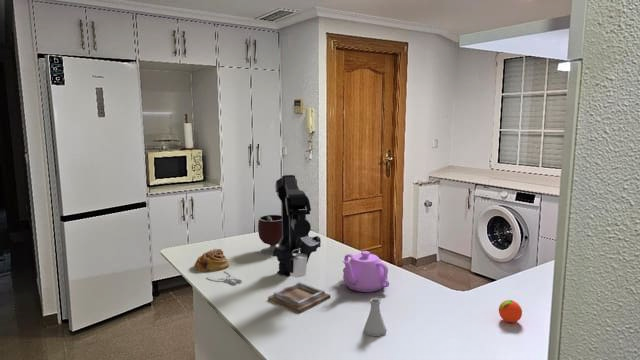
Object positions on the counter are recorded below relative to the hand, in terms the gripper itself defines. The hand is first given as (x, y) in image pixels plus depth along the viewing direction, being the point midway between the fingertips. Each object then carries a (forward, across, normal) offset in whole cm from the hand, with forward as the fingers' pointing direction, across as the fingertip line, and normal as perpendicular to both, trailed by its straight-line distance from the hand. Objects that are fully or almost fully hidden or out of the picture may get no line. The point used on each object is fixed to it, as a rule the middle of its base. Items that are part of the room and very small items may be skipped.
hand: (297, 270), depth 156 cm
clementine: (+11, +33, -63) cm, 72 cm away
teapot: (+11, +23, -11) cm, 28 cm away
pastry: (+12, -2, +53) cm, 54 cm away
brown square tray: (+11, 0, 0) cm, 11 cm away
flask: (+11, 0, -34) cm, 36 cm away
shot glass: (+2, 0, 0) cm, 2 cm away
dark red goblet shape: (+11, +29, +47) cm, 56 cm away
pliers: (+12, -6, +35) cm, 38 cm away
